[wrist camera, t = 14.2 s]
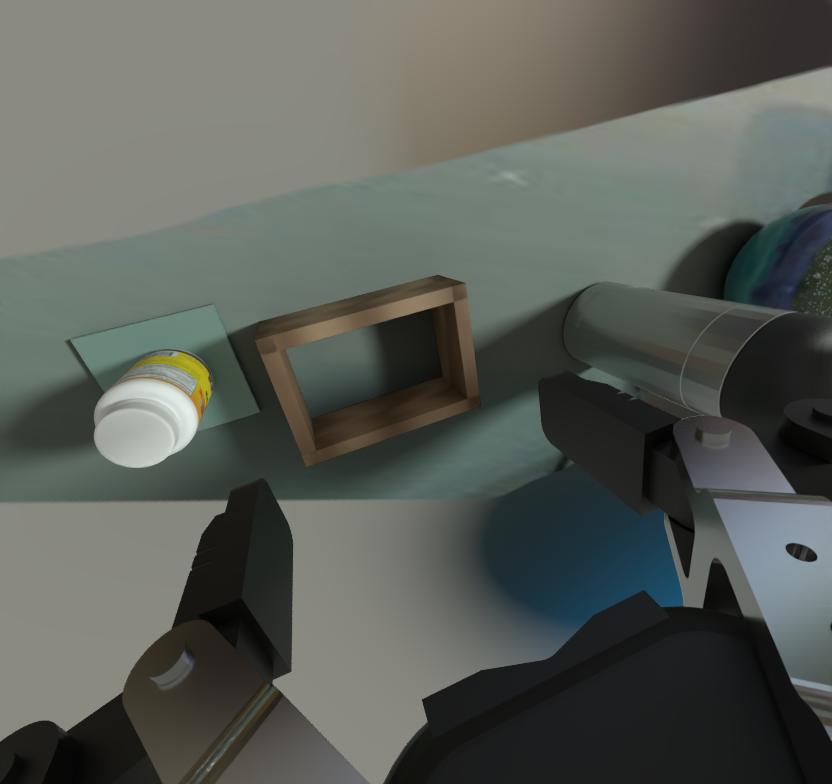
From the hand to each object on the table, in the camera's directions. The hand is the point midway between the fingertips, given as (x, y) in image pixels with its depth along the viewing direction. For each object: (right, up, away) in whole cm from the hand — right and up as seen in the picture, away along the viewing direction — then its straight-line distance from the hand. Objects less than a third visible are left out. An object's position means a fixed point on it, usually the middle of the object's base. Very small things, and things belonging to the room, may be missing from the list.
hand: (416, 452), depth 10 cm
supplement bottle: (-20, +3, +20) cm, 28 cm away
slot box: (-5, +5, +25) cm, 26 cm away
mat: (-20, +3, +20) cm, 29 cm away
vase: (+42, +17, +37) cm, 59 cm away
